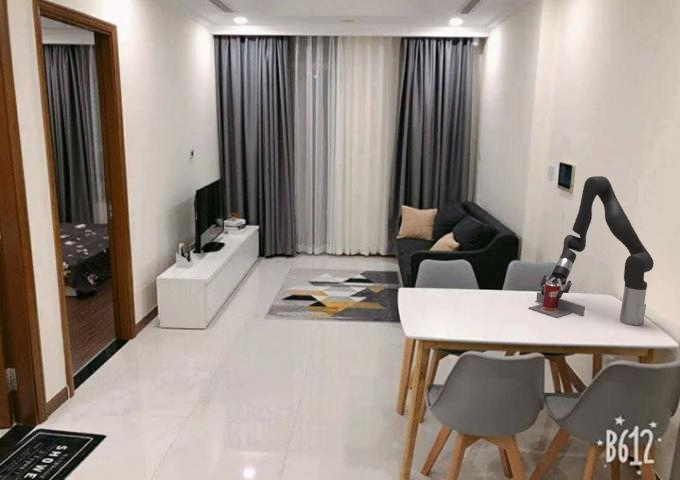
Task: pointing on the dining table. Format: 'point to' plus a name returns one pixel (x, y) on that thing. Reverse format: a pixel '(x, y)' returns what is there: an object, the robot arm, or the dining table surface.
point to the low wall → (565, 305)
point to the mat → (550, 311)
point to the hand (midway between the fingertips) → (550, 296)
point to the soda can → (551, 295)
